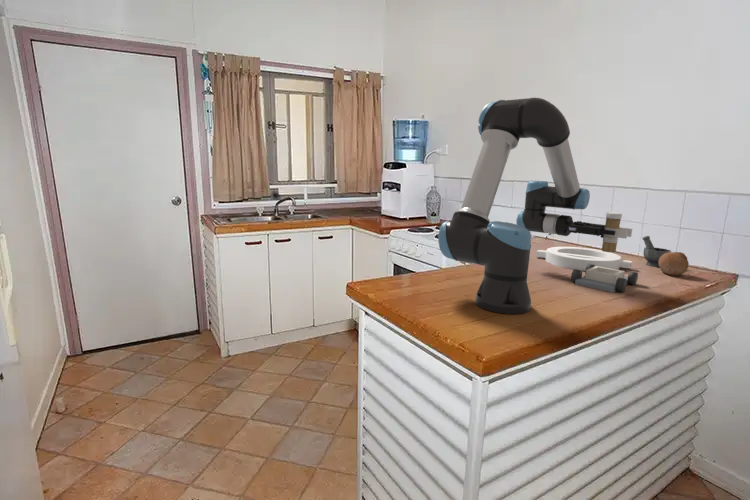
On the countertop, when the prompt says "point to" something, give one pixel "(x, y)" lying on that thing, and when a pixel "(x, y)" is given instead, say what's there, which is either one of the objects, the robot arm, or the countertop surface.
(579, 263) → the white circle with bar
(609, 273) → the toy chassis
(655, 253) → the mortar and pestle
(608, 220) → the spice jar
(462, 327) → the countertop surface
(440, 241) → the robot arm
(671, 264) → the brown round lump
